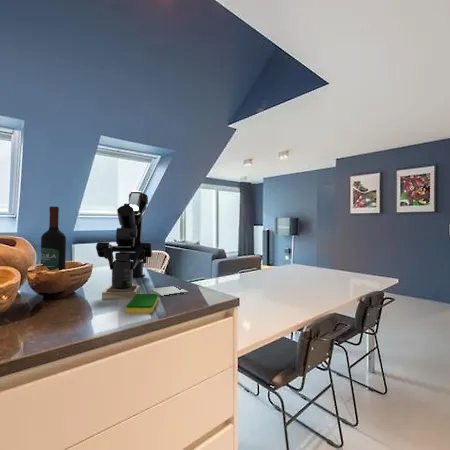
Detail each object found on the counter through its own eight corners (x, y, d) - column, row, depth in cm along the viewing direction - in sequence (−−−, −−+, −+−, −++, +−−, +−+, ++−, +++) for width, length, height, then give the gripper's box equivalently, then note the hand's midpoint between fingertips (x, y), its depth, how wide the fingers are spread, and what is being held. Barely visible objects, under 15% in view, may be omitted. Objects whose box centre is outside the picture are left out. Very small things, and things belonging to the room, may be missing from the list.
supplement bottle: (107, 288, 98) (107, 253, 98) (122, 284, 104) (123, 251, 104) (121, 290, 95) (122, 254, 95) (136, 286, 101) (137, 252, 101)
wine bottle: (69, 291, 103) (70, 207, 102) (46, 295, 96) (48, 205, 96) (58, 288, 107) (59, 207, 106) (35, 291, 100) (37, 206, 100)
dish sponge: (125, 314, 80) (126, 305, 80) (136, 300, 94) (136, 293, 94) (151, 314, 80) (152, 305, 80) (158, 300, 94) (158, 293, 94)
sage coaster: (151, 290, 106) (151, 288, 106) (175, 287, 112) (175, 285, 112) (161, 296, 98) (161, 294, 98) (187, 293, 104) (187, 291, 104)
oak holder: (109, 291, 104) (109, 285, 104) (139, 290, 105) (139, 285, 105) (101, 299, 93) (101, 292, 93) (135, 298, 95) (135, 292, 95)
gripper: (97, 219, 101) (87, 254, 91) (151, 220, 104) (148, 254, 94) (102, 239, 109) (94, 274, 99) (153, 240, 112) (150, 273, 102)
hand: (121, 269), depth 98 cm, fingers closed on supplement bottle, 7 cm apart
